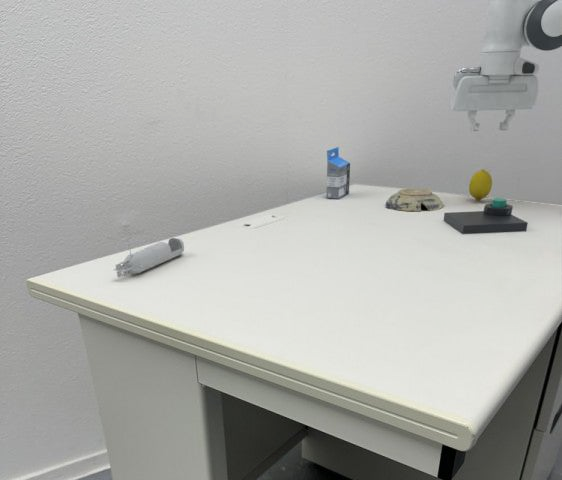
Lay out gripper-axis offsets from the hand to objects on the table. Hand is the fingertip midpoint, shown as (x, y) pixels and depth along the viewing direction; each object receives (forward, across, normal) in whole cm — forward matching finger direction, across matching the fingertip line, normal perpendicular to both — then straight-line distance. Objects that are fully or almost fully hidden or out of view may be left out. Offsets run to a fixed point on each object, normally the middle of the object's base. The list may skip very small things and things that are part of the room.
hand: (488, 130), depth 135 cm
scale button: (+14, -5, -21) cm, 26 cm away
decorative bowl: (+17, -18, -2) cm, 25 cm away
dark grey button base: (+17, -9, -25) cm, 32 cm away
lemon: (+17, 0, 0) cm, 17 cm away
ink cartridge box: (+17, -35, +14) cm, 41 cm away
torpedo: (+17, -80, -43) cm, 92 cm away
